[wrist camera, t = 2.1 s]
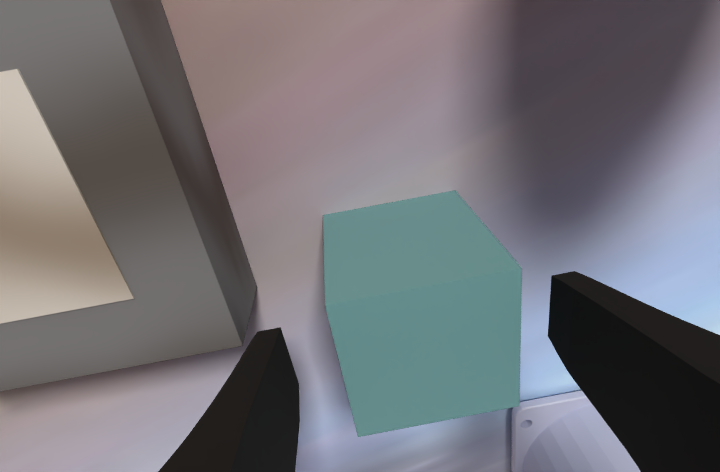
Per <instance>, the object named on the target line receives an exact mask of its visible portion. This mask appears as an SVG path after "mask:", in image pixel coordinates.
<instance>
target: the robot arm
mask: <svg viewBox="0 0 720 472" xmlns="http://www.w3.org/2000/svg"><path fill="white" fill-rule="evenodd" d="M548 337H549V339H550V340H551V342H552V344H553V346H554V348H555V350H556V352H557V353H558V355H559V357H560V359H561V360H562V362H563V364H564V366H565V367H566V369H567V371H568V372H569V373H570V375H571V376H572V378H573V379H574V380H575V382H576V383H577V384H578V386H579V387H580V388H581V391H575V392H570V393H565V394H559V395H554V396H549V397H544V398H538V399H533V400H528V401H523V402H520V403H519V406H518V407H513V409H512V458H511V472H720V335H718V334H715V333H713V332H710V331H708V330H705V329H703V328H701V327H698V326H696V325H693V324H691V323H688V322H686V321H683V320H681V319H679V318H677V317H674V316H672V315H670V314H667V313H665V312H663V311H661V310H658V309H656V308H654V307H652V306H650V305H647V304H645V303H643V302H641V301H639V300H637V299H634V298H632V297H630V296H628V295H626V294H624V293H622V292H620V291H617V290H615V289H613V288H611V287H609V286H607V285H605V284H603V283H600V282H598V281H596V280H594V279H592V278H589V277H587V276H585V275H583V274H580V273H578V272H575V271H574V272H568V273H563V274H558V275H553V276H552V279H551V295H550V311H549V327H548ZM299 422H300V418H299V383H298V380H297V377H296V374H295V371H294V368H293V365H292V361H291V358H290V355H289V352H288V349H287V346H286V343H285V340H284V337H283V334H282V331H281V327H280V328H275V329H269V330H264V331H259V332H257V333H256V335H255V336H254V338H253V339H252V341H251V342H250V344H249V346H248V347H247V349H246V351H245V352H244V354H243V355H242V357H241V359H240V360H239V362H238V364H237V365H236V367H235V368H234V370H233V372H232V373H231V375H230V376H229V378H228V379H227V381H226V382H225V384H224V385H223V387H222V388H221V390H220V391H219V393H218V394H217V396H216V397H215V399H214V400H213V402H212V403H211V405H210V406H209V407H208V409H207V410H206V412H205V413H204V414H203V416H202V417H201V419H200V420H199V421H198V423H197V424H196V425H195V427H194V428H193V430H192V431H191V432H190V434H189V435H188V436H187V437H186V439H185V440H184V441H183V443H182V444H181V445H180V446H179V448H178V449H177V450H176V451H175V453H174V454H173V455H172V456H171V457H170V459H169V460H168V461H167V462H166V463H165V464H164V466H163V467H162V468H161V469H160V470H159V472H295V465H296V455H297V444H298V433H299Z"/></svg>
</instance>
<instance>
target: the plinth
mask: <svg viewBox="0 0 720 472" xmlns="http://www.w3.org/2000/svg"><path fill="white" fill-rule="evenodd" d="M256 289H257V286H256V283H255V280H254V277H253V274H252V271H251V268H250V265H249V262H248V259H247V256H246V253H245V250H244V247H243V244H242V241H241V238H240V235H239V232H238V229H237V226H236V223H235V220H234V217H233V214H232V211H231V208H230V205H229V202H228V199H227V196H226V193H225V191H224V188H223V185H222V182H221V179H220V176H219V173H218V170H217V167H216V164H215V161H214V158H213V155H212V152H211V149H210V146H209V143H208V140H207V137H206V134H205V131H204V128H203V125H202V122H201V119H200V116H199V113H198V110H197V107H196V104H195V101H194V98H193V95H192V92H191V89H190V86H189V83H188V80H187V77H186V74H185V71H184V68H183V65H182V62H181V59H180V56H179V53H178V51H177V48H176V45H175V42H174V39H173V36H172V33H171V30H170V27H169V24H168V21H167V18H166V15H165V12H164V9H163V6H162V3H161V0H0V392H1V391H6V390H11V389H16V388H22V387H27V386H32V385H38V384H43V383H48V382H54V381H59V380H64V379H70V378H75V377H80V376H85V375H91V374H96V373H101V372H107V371H112V370H117V369H123V368H128V367H133V366H138V365H144V364H149V363H154V362H160V361H165V360H170V359H176V358H181V357H186V356H192V355H197V354H202V353H207V352H213V351H218V350H223V349H229V348H234V347H239V346H243V342H244V338H245V334H246V330H247V326H248V322H249V318H250V314H251V310H252V306H253V301H254V297H255V293H256Z"/></svg>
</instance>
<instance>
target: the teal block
mask: <svg viewBox="0 0 720 472" xmlns="http://www.w3.org/2000/svg"><path fill="white" fill-rule="evenodd" d="M323 237H324V283H325V307H326V311H327V315H328V319H329V323H330V327H331V331H332V335H333V339H334V343H335V347H336V351H337V355H338V359H339V363H340V367H341V371H342V375H343V379H344V383H345V387H346V391H347V395H348V399H349V403H350V407H351V411H352V415H353V419H354V423H355V427H356V431H357V435H358V437H361V436H366V435H371V434H376V433H382V432H387V431H392V430H397V429H403V428H408V427H413V426H418V425H424V424H429V423H434V422H439V421H444V420H450V419H455V418H460V417H465V416H471V415H476V414H481V413H486V412H491V411H497V410H502V409H507V408H512V407H518V406H519V397H520V343H521V289H522V268H521V267H520V265H519V264H518V263H517V262H516V261H515V260H514V258H513V257H512V256H511V255H510V254H509V252H508V251H507V250H506V249H505V248H504V247H503V245H502V244H501V243H500V242H499V241H498V240H497V238H496V237H495V236H494V235H493V234H492V233H491V231H490V230H489V229H488V228H487V227H486V226H485V224H484V223H483V222H482V221H481V220H480V219H479V217H478V216H477V215H476V214H475V213H474V212H473V210H472V209H471V208H470V207H469V206H468V205H467V203H466V202H465V201H464V200H463V199H462V198H461V196H460V195H459V194H458V193H457V192H456V191H450V192H444V193H439V194H434V195H428V196H423V197H418V198H412V199H407V200H402V201H396V202H391V203H386V204H380V205H375V206H370V207H364V208H359V209H354V210H348V211H343V212H338V213H332V214H327V215H323Z"/></svg>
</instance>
